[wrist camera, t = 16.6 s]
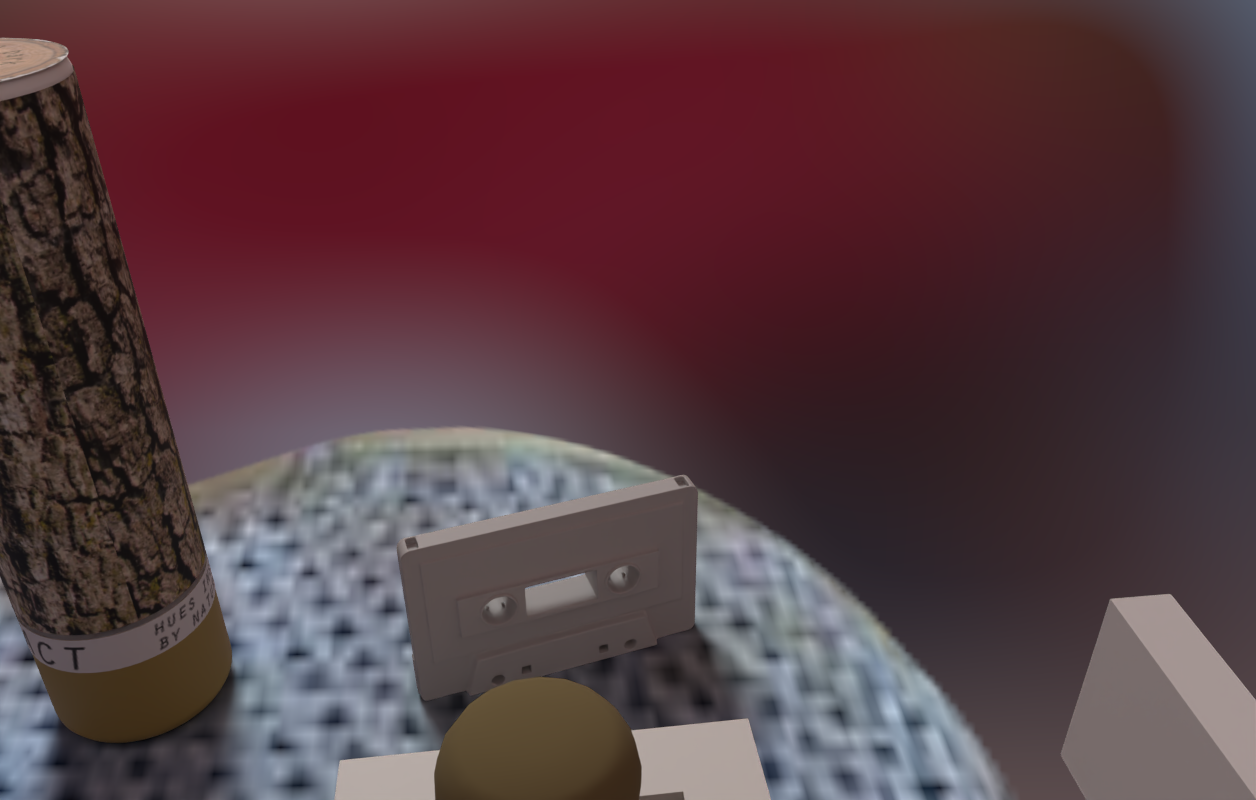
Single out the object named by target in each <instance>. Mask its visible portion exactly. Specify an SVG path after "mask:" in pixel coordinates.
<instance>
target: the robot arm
mask: <svg viewBox="0 0 1256 800" xmlns="http://www.w3.org/2000/svg"><path fill="white" fill-rule="evenodd" d="M1061 756H1062V758H1063V760H1064V762H1065V763H1066V765H1067V767H1068V769H1069V770H1070V772H1071V774H1072V776H1073V777H1074V779H1075V781H1076V783H1077V784H1078V786H1079V788H1080V790H1081V791H1082V793H1083V795H1084V797H1085V799H1086V800H1256V700H1255V699H1254V697H1253V696H1252V695H1251V694H1250V692H1249V691H1248V690H1247V689H1246V687H1245V686H1244V685H1243V684H1242V682H1241V681H1240V680H1239V679H1238V677H1237V676H1236V675H1235V674H1234V672H1233V671H1232V670H1231V669H1230V667H1229V666H1228V665H1227V664H1226V662H1225V661H1224V660H1223V659H1222V657H1220V655H1219V654H1218V652H1217V651H1216V650H1215V649H1214V648H1213V646H1212V645H1211V644H1210V643H1209V641H1208V640H1207V639H1206V638H1205V636H1204V635H1203V634H1202V633H1201V631H1200V630H1199V629H1198V628H1197V627H1196V625H1195V624H1194V623H1193V621H1192V620H1191V619H1190V618H1189V616H1188V615H1187V614H1186V613H1185V611H1184V610H1183V609H1182V608H1181V606H1180V605H1179V604H1178V603H1177V602H1176V600H1175V599H1174V598H1173V597H1172V595H1171V594H1165V595H1152V596H1142V597H1129V598H1117V599H1110V602H1109V605H1108V608H1107V611H1106V614H1105V618H1104V620H1103V623H1102V627H1101V630H1100V633H1099V636H1098V639H1097V642H1096V645H1095V648H1094V651H1093V655H1092V658H1091V661H1090V664H1089V667H1088V670H1087V674H1086V676H1085V680H1084V683H1083V686H1082V689H1081V692H1080V695H1079V698H1078V702H1077V705H1076V708H1075V711H1074V714H1073V717H1072V720H1071V723H1070V726H1069V730H1068V733H1067V736H1066V739H1065V742H1064V745H1063V749H1062V751H1061Z"/></svg>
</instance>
